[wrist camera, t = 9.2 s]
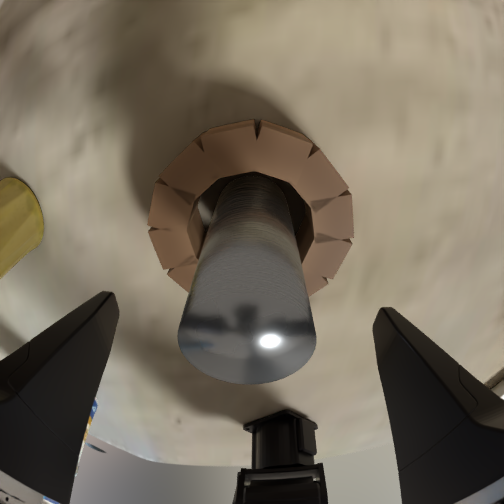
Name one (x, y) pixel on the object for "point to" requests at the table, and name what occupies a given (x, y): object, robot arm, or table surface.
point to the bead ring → (242, 161)
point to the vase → (18, 223)
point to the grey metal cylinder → (248, 291)
